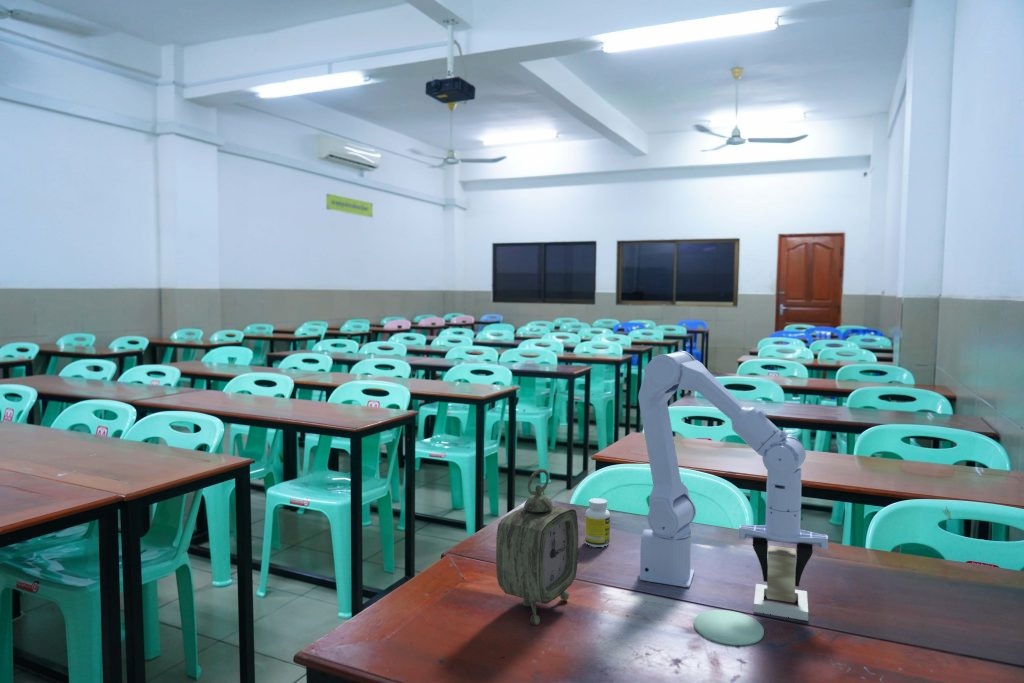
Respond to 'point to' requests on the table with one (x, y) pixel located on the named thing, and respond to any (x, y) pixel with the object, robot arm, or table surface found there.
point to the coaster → (728, 627)
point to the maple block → (781, 573)
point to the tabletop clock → (537, 550)
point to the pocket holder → (781, 609)
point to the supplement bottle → (597, 523)
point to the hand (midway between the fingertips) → (781, 581)
